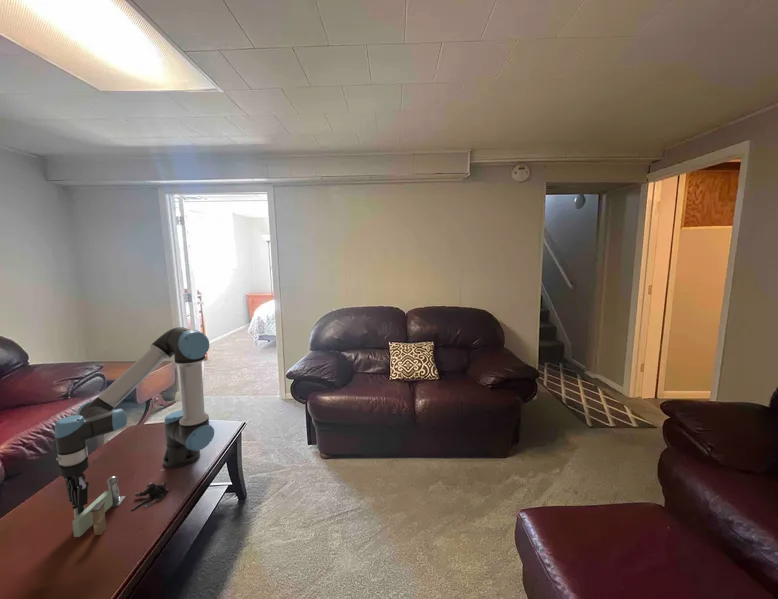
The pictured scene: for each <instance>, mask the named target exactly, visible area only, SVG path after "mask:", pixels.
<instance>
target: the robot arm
mask: <svg viewBox="0 0 778 599" xmlns="http://www.w3.org/2000/svg"><path fill="white" fill-rule="evenodd" d="M209 349H210V340H209V338H208V337H207V336H206V334H205V333H203V332H201V331H199V330H196V329H191V328H186V327H183V326H178V327H174V328H172V329H169V330H167V331H166V332H165V333H163V334H162V335H160V336H159V337H158V338H157V339H156V340H154V341H153V342H152V343H151V344H150V347H149V349H148V350H147V351H146V352H145V353H144V354H142V355H141V357H140V358H138V359H137V361H135V362H134V363H133V364H132V365H131V366H130V367H128V369H126V370H125V371H124V372H123V373H122V374H121V375H120V376H118V377H117V379H116V380H114V381H113V382H112V383H111V384H110V385H109V386H107V387H106V388H105V389H104V390H103V391H102V392H101V393H100V394H99V395H98V396H96V397H95V398H94V399H93V400H92V401H87V402H85V403H83V404H82V405H80V407H79V408H78V410H77V414H75V415H69V416H65V417H62V418H60V419H59V420H57V421H55V424H54V437H55V445H56V451H57V453H56V454H57V456H56V458H55V460H56V461H58V465H59V466H58V469H59V475H60V476H61V477H63V478H64V481H65V487H66V490H67V495H68V499H69V500H68V501H69V502H70V503H71V505H72V510H73V516H74V517H73V518H74V519H75V518H76V517H77V516H78V515H79V514H80V513H82V512H83V511H84V510H85V509H86V505H87V504H88V490H89V489H88V488H89V482H88V481H85V480H86V475H85V474H84V472H85V471H86V470H87V469H88V468H89V466H90V465H89V457H88V456H89V454H88V445H87V441H89V440H92V439H95V438H97V437H101V436H104V435H106V434H109V433H112V432H116V431H118V430H121V429H122V428H123V429H124V428H125V427H126V425H127V423H128V419H127V414H126V411H125V410H124V409H123V408H116V407H117V406H118V405H119V404H120V403H121V402H122V401H124V399H125V398H126V397H127V396H129V394H130V393H131V392H133V391H134V389H136V388H137V387H138V386H139V385H140V384H141V383H142V382H144V380H145V379H147V377H149V376H150V375H151V374H152V373H153V372H154V371H155V370H156V369H158V367H159V366H160V365H162V363H163V362H164V361H166V360H170V359H171V358H172V357H173V356H174V363H175V364H177V365H178V368H179V381H180V382H179V383H180V393H181V394H180V397H181V409H180V410H177V411H174V412H171V413H169V414H167V415H166V416H165V417H164V423H163V424H164V432H165V443H166V447H165V451H164V454H163V457H162V458H163V459H162V461H163V465H164V466H165V467H166V468H181V467H184V466H187V465H189V464H192V463H193V462H195V461H197V460H198V459H199V458H200V455H201V450H204V449H205V448H207V447H208V446H209V445H210V443H211V442H212V441H213V439H214V436H215V429H214V427H213V426H212V425H211V424H210V419H209V418H210V417H209V414H208V413H206V412H205V398H204V396H205V394H204V380H203V379H204V378H203V366H202V364H203V362H204V361H205V359H206V354H207V352H209Z"/></svg>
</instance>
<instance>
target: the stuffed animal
mask: <svg viewBox="0 0 778 599" xmlns="http://www.w3.org/2000/svg"><path fill="white" fill-rule="evenodd" d="M169 492H170V489H169V488H168V487H166V481H162V483H161V484H157V483H155V482H153V481H151V482H149V483H147V486H146V489H145V490H143V491H140V492H135V493H134V496H135V497H136V498H140V497H142V500H143V501H141V502H140V503H139V502H138V504H136V505H135V506H134V507H132V508H131V509H130V511H135V510H137V509H138V508H139V507H141V506H142V505H144V504H145V503H146V504H145V505H144V507H145V508H147V507H149V506H151V505H152V504H154V503H156V502H158V501H160V500H162V499H163V498H165V497H166V496H167V493H169ZM147 496H148V497H147Z"/></svg>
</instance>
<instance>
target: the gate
mask: <svg viewBox="0 0 778 599" xmlns="http://www.w3.org/2000/svg"><path fill="white" fill-rule="evenodd" d="M102 502H105V505H104V511H105V513H106V512H107V511H108V510H109V509H111V508H112V507H111V506H112V505H113V502H112V493H111V491H109V490H105V491H104V492H103V493H102V494H100V495H99V496H98V497H97V498H96V499H95V500H94V501H93V502H91V503H90V504H89V505H88V506H87V507H85V510H84V511H83V512H82V513H80V514H79V515H78V516H77V517H76V518H74V519H73V520H71V523H72V531H73V537H74V538H77V537H78V538H81V536H83V535H84V533H86V532H87V530H89V529H90V528H91V527H92V526H94V525H93V517H92V512H91V509H92V508H93V507H94V506H95V505H96V503H102Z"/></svg>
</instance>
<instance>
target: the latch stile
mask: <svg viewBox="0 0 778 599" xmlns="http://www.w3.org/2000/svg"><path fill="white" fill-rule="evenodd" d="M104 505H105V502H102V503H96V505H95V506H94V507H93V508H92V509H91V512H92V517H93V525H92V526H93V532H94V536H99V535H102V534H103V533H104V532H105V530H106V528H107V523H106V522H107V521H106V512H105V511H104Z"/></svg>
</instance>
